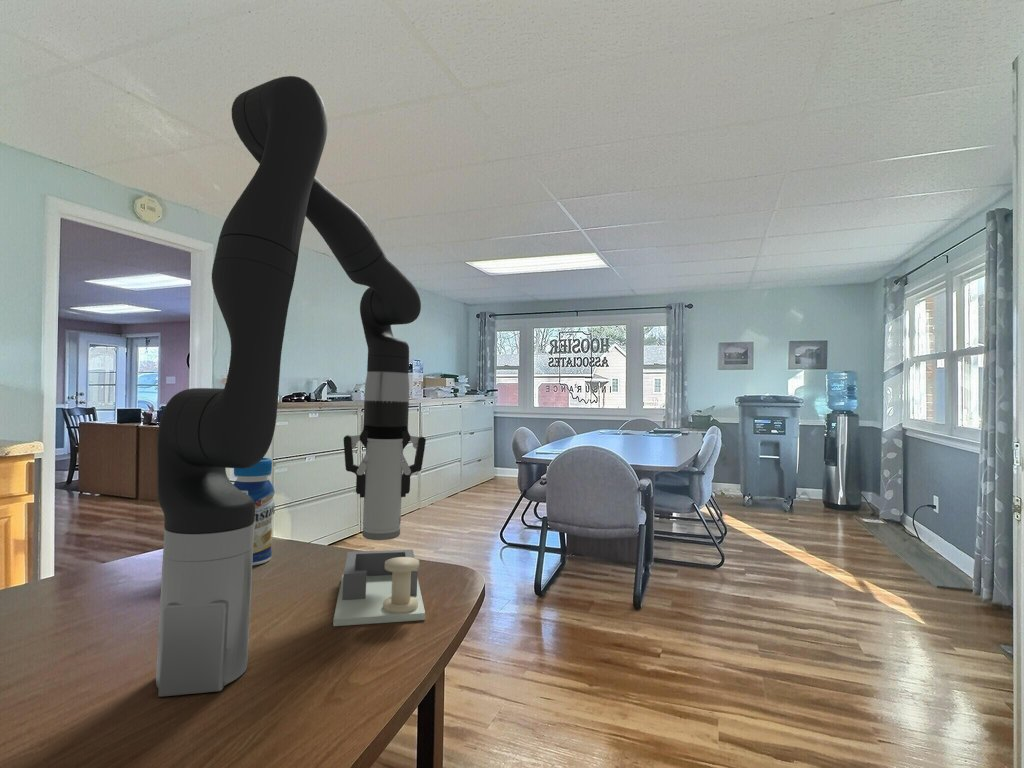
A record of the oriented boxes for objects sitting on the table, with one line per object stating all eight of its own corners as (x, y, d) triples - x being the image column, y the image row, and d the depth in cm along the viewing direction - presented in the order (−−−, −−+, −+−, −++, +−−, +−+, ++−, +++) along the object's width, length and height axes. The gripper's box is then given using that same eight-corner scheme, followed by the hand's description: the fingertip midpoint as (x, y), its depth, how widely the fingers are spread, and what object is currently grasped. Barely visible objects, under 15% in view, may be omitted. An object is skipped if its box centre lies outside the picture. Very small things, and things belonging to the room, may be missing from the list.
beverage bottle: (254, 552, 109) (258, 455, 110) (281, 559, 105) (286, 459, 106) (214, 562, 102) (219, 459, 103) (242, 570, 98) (247, 462, 99)
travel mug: (409, 534, 91) (413, 419, 92) (380, 542, 86) (385, 419, 87) (383, 529, 95) (387, 417, 96) (354, 536, 89) (359, 418, 90)
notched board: (425, 619, 78) (426, 566, 79) (333, 626, 75) (335, 571, 76) (415, 576, 98) (417, 533, 98) (342, 579, 95) (344, 535, 95)
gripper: (341, 397, 86) (337, 501, 85) (430, 400, 89) (427, 500, 89) (344, 397, 93) (340, 493, 92) (426, 400, 97) (423, 492, 96)
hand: (383, 496), depth 91 cm, fingers closed on travel mug, 6 cm apart
